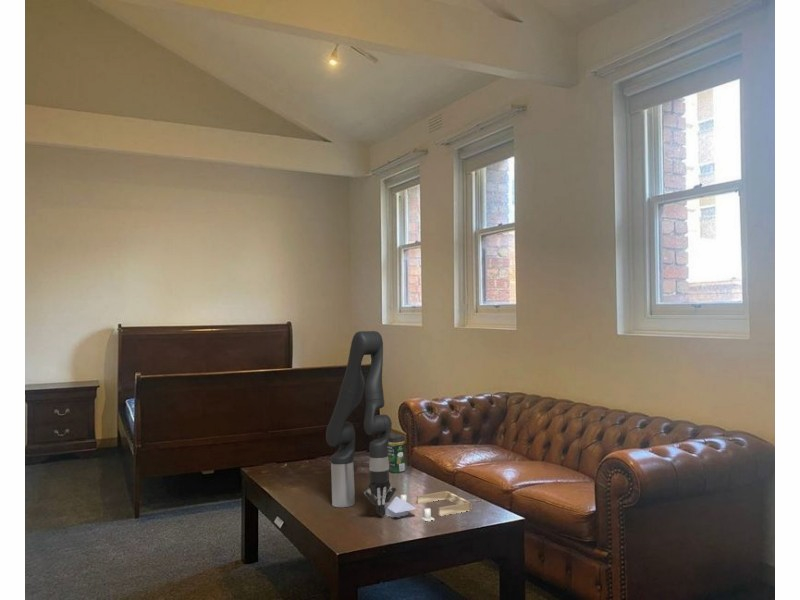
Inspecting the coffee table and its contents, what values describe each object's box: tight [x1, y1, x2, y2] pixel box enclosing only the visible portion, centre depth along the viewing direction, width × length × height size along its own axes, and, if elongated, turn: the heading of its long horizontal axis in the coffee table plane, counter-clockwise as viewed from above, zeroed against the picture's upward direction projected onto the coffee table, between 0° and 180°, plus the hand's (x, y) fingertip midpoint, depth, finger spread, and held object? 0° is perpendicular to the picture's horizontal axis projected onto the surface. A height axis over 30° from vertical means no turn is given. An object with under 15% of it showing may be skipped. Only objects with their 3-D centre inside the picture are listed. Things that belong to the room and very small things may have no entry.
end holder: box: [416, 490, 473, 517], centre depth 244 cm, size 19×14×3 cm
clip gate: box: [400, 493, 435, 522], centre depth 239 cm, size 25×4×4 cm, turn 25°
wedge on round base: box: [384, 495, 417, 518], centre depth 236 cm, size 9×7×13 cm
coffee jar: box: [388, 432, 406, 474], centre depth 304 cm, size 10×8×19 cm
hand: (380, 514), depth 233 cm, fingers closed
